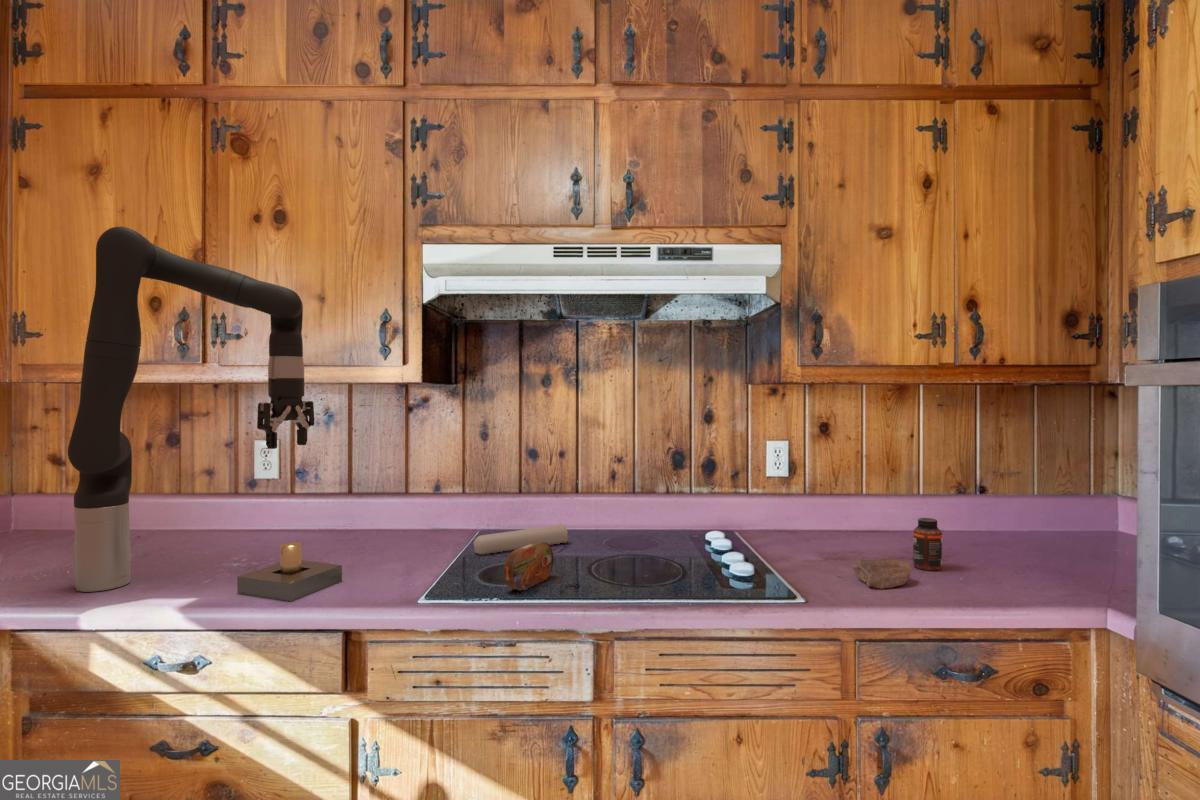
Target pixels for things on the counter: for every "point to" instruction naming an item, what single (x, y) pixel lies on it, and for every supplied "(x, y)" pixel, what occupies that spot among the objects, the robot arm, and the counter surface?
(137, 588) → the counter surface
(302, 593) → the block
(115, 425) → the robot arm
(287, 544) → the pipe stub
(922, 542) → the supplement bottle
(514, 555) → the tin
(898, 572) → the rock
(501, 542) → the tube
